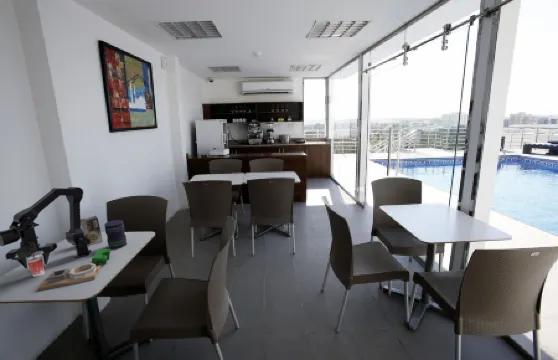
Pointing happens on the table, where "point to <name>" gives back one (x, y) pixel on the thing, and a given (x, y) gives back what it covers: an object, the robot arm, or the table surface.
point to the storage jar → (115, 234)
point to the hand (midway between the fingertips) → (36, 266)
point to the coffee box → (91, 229)
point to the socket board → (68, 280)
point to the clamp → (101, 256)
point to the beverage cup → (36, 265)
